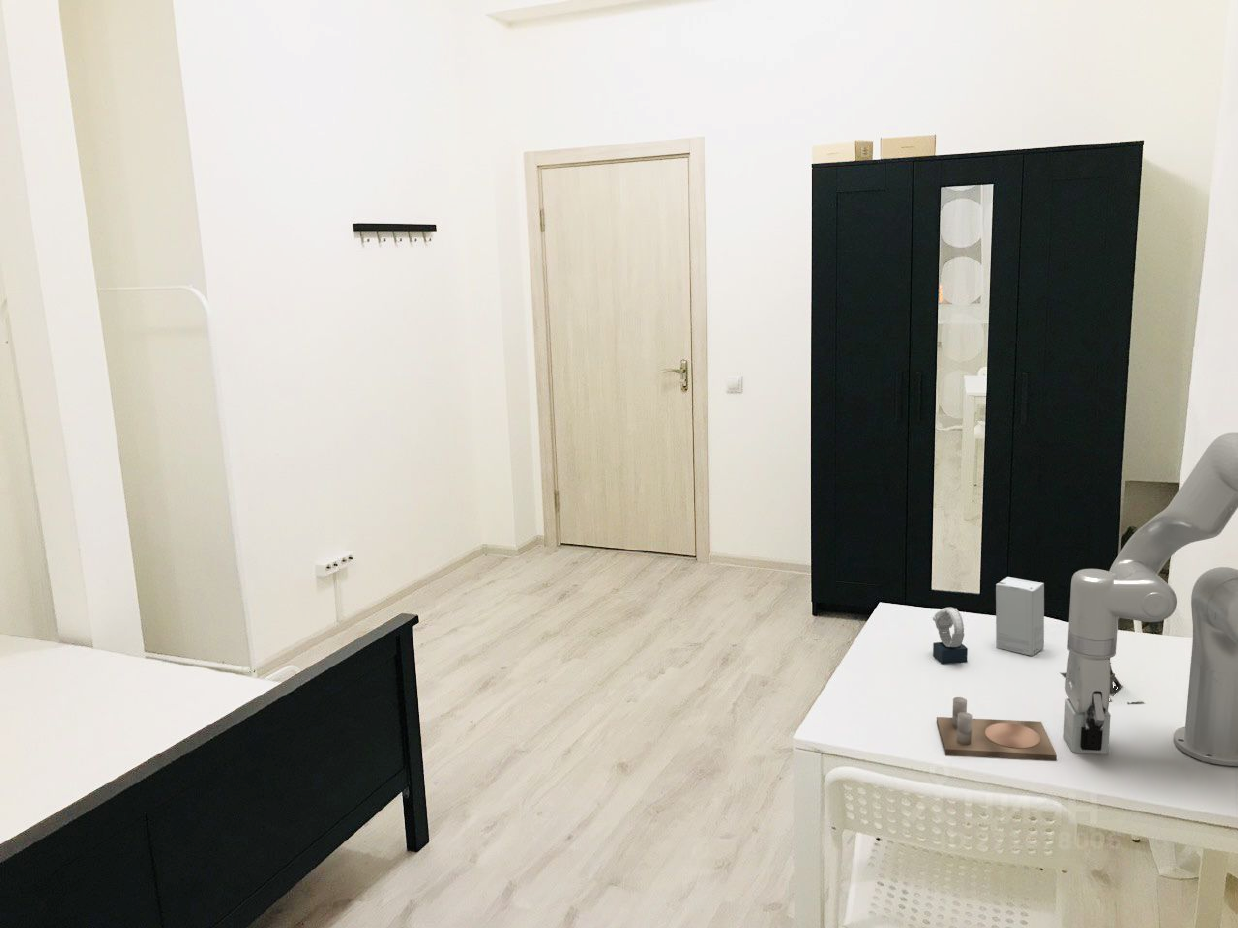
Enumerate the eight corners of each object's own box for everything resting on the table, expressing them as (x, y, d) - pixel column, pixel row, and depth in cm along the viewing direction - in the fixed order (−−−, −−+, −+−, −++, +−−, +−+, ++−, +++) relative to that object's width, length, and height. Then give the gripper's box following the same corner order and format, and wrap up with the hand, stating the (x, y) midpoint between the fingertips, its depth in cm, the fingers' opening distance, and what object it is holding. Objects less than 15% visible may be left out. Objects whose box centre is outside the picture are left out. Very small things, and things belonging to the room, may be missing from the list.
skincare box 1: (1043, 649, 214) (1047, 582, 211) (1031, 657, 210) (1035, 590, 207) (1005, 639, 220) (1008, 574, 217) (992, 647, 216) (995, 581, 213)
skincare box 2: (1109, 754, 171) (1111, 714, 169) (1071, 752, 172) (1073, 713, 170) (1098, 737, 176) (1101, 698, 175) (1062, 735, 177) (1064, 697, 176)
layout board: (1040, 726, 181) (1042, 695, 180) (1056, 760, 169) (1058, 727, 168) (936, 721, 184) (937, 691, 183) (945, 754, 173) (946, 722, 171)
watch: (953, 650, 215) (955, 601, 213) (971, 665, 207) (973, 615, 205) (928, 652, 214) (930, 604, 212) (945, 668, 207) (946, 617, 204)
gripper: (1056, 622, 179) (1050, 715, 183) (1081, 662, 162) (1074, 763, 166) (1101, 624, 178) (1094, 717, 181) (1131, 664, 161) (1123, 766, 165)
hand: (1085, 738), depth 174 cm, fingers closed on skincare box 2, 6 cm apart
